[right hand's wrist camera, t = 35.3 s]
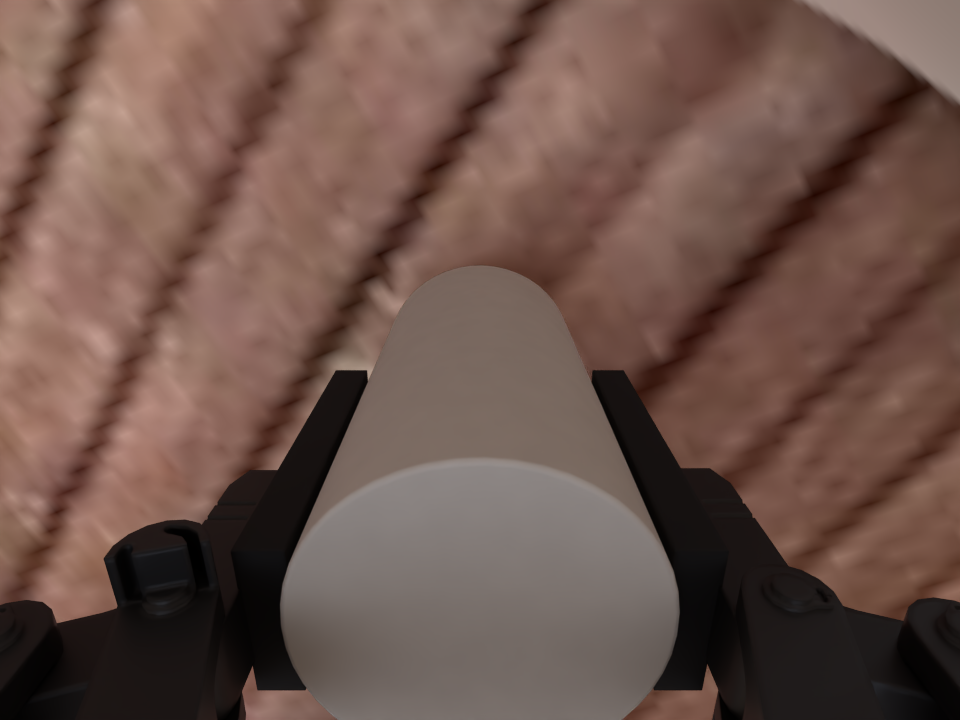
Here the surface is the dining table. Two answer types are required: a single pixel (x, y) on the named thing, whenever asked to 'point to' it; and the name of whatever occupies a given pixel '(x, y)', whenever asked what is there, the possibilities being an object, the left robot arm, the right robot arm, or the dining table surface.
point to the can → (479, 529)
